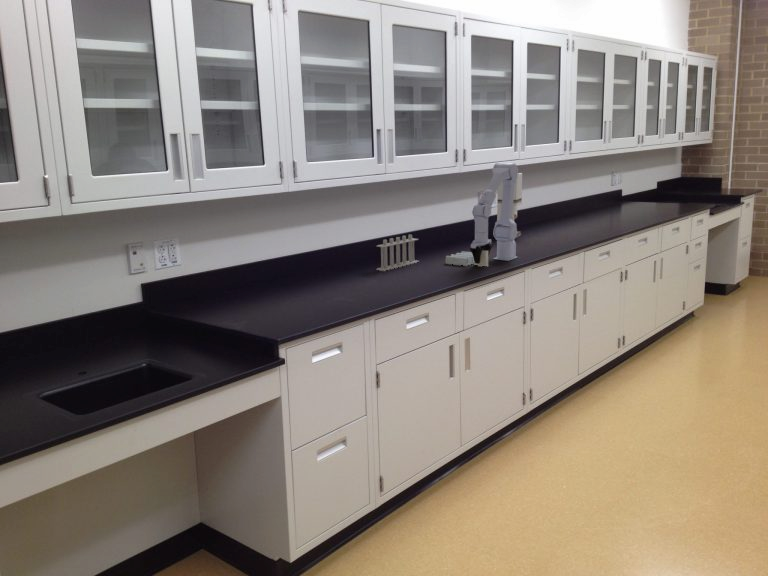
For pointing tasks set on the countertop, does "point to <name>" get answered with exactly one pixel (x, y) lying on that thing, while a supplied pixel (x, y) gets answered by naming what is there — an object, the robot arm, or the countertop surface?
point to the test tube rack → (397, 252)
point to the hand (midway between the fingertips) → (481, 262)
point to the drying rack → (460, 259)
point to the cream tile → (483, 259)
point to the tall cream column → (516, 200)
